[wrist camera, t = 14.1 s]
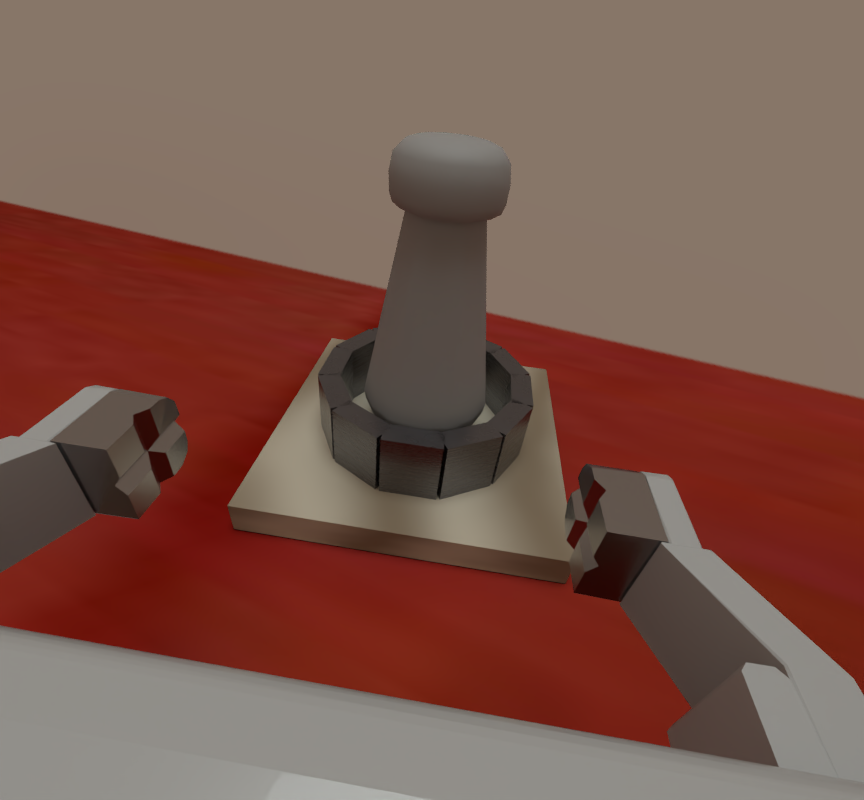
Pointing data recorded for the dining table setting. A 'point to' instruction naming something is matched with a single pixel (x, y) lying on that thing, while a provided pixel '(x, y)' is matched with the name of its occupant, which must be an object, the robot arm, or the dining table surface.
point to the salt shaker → (437, 282)
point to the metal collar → (418, 448)
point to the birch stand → (411, 498)
